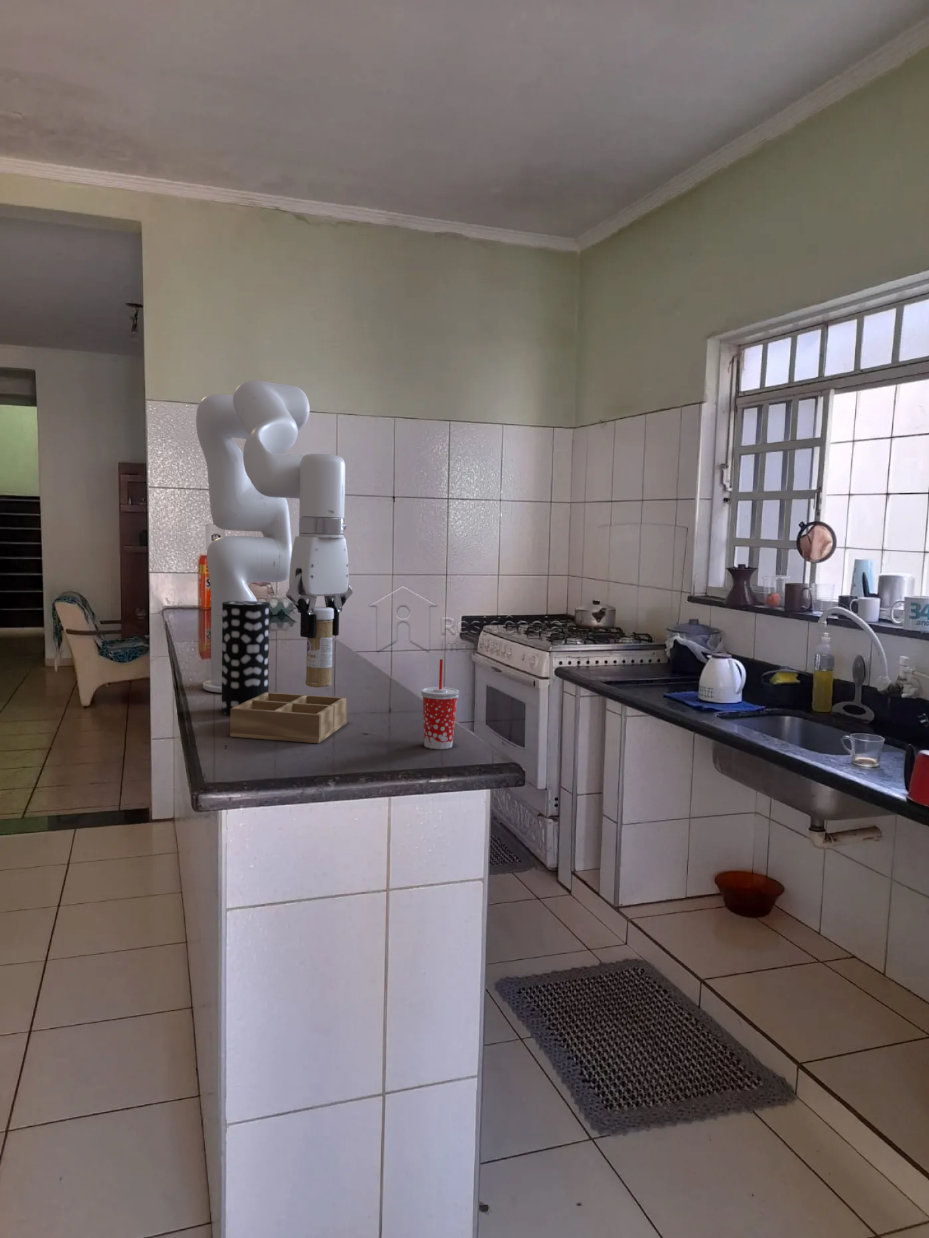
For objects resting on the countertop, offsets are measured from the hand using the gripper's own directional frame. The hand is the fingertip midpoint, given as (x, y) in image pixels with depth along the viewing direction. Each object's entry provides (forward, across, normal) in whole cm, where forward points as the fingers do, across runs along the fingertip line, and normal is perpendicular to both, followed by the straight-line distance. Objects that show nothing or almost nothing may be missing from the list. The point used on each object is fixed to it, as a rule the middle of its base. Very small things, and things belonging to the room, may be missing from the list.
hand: (319, 635), depth 147 cm
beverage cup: (+16, -4, +23) cm, 28 cm away
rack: (+16, +5, -2) cm, 17 cm away
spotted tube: (+16, +1, -18) cm, 24 cm away
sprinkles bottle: (+9, 0, 0) cm, 9 cm away
